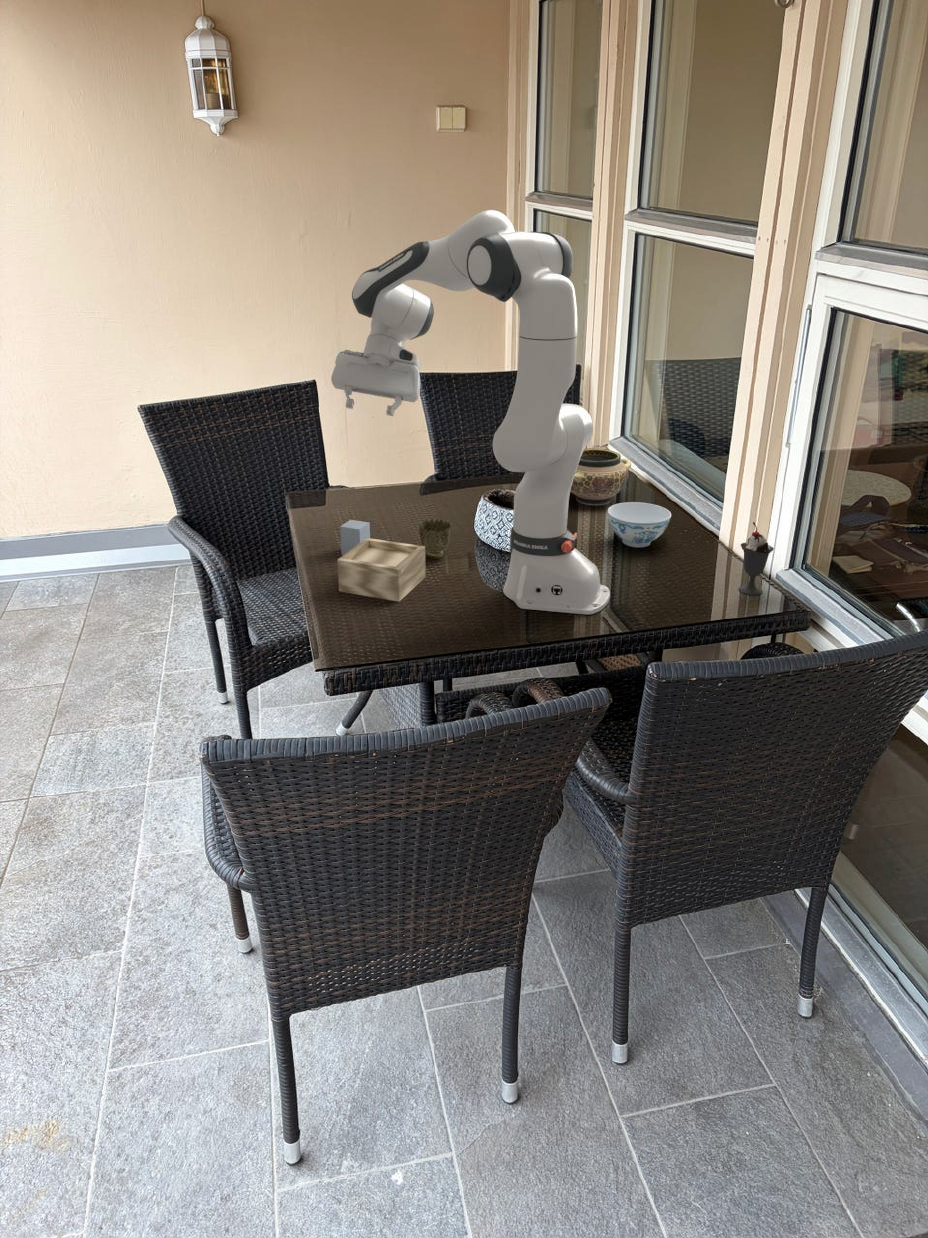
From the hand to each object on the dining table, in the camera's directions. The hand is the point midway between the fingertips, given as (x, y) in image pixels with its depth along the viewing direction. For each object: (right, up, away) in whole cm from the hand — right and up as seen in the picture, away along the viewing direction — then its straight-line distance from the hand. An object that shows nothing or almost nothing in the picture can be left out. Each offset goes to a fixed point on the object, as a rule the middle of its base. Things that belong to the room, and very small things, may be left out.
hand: (369, 411), depth 211 cm
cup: (+15, -33, +6) cm, 36 cm away
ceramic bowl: (+57, -15, +44) cm, 73 cm away
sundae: (+83, -41, -10) cm, 93 cm away
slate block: (-4, -32, +7) cm, 33 cm away
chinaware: (+63, -29, +15) cm, 71 cm away
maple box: (+4, -40, -9) cm, 41 cm away
